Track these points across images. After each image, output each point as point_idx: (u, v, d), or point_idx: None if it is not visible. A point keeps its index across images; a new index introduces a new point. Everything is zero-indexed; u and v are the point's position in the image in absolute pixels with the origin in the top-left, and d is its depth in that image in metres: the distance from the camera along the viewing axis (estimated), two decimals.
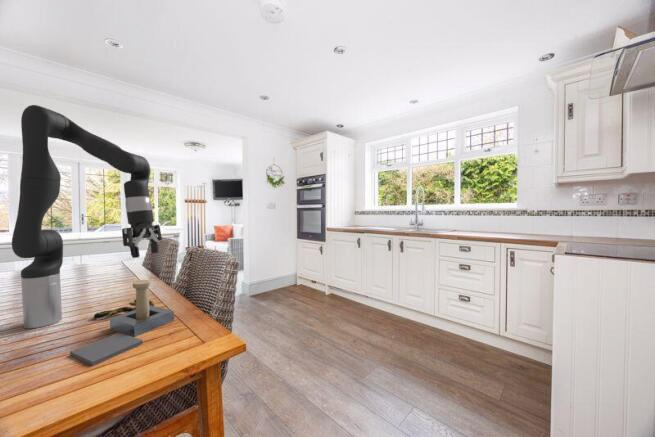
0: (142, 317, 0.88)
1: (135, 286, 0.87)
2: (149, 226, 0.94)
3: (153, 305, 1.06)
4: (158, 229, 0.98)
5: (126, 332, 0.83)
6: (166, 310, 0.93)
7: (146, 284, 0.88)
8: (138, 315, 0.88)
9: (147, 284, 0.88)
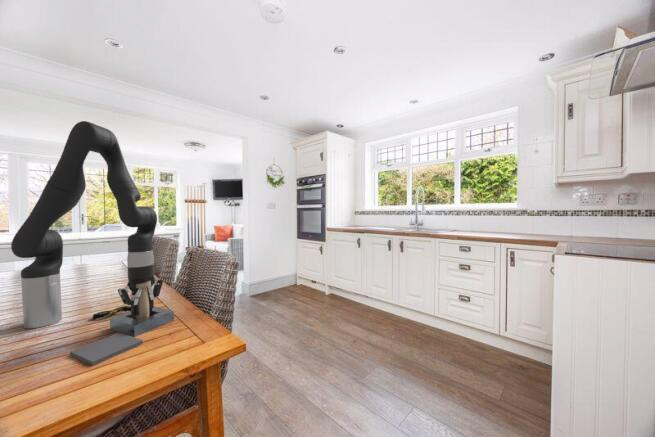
0: (142, 317, 0.88)
1: None
2: (149, 280, 0.91)
3: None
4: (159, 284, 0.94)
5: (126, 332, 0.83)
6: (166, 310, 0.93)
7: (146, 284, 0.88)
8: (138, 315, 0.88)
9: (147, 284, 0.88)
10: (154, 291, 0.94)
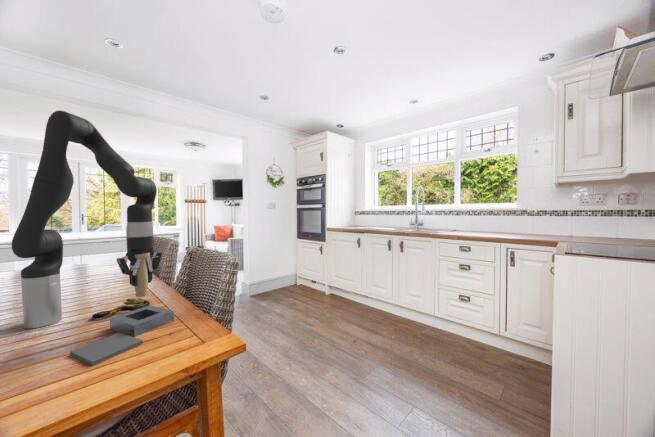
0: (141, 288, 0.88)
1: None
2: (148, 251, 0.91)
3: (149, 303, 1.09)
4: (158, 257, 0.94)
5: (126, 332, 0.83)
6: (166, 310, 0.93)
7: (145, 255, 0.88)
8: (137, 286, 0.88)
9: (146, 255, 0.88)
10: (153, 264, 0.94)
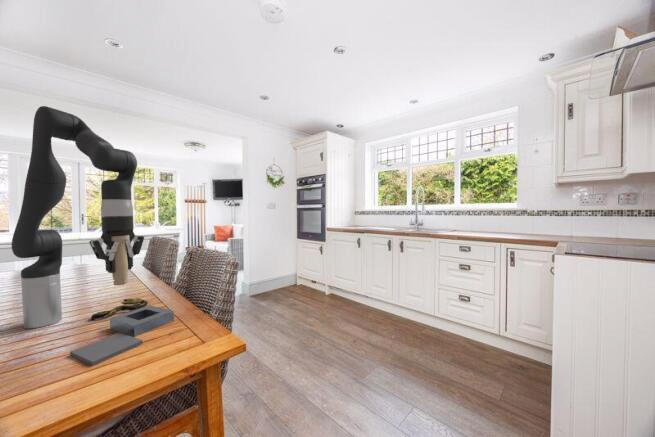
0: (119, 275, 0.77)
1: (111, 239, 0.76)
2: (128, 234, 0.80)
3: (147, 302, 1.09)
4: (140, 241, 0.83)
5: (126, 332, 0.83)
6: (166, 310, 0.93)
7: (124, 237, 0.77)
8: (114, 273, 0.77)
9: (125, 237, 0.77)
10: (134, 249, 0.83)
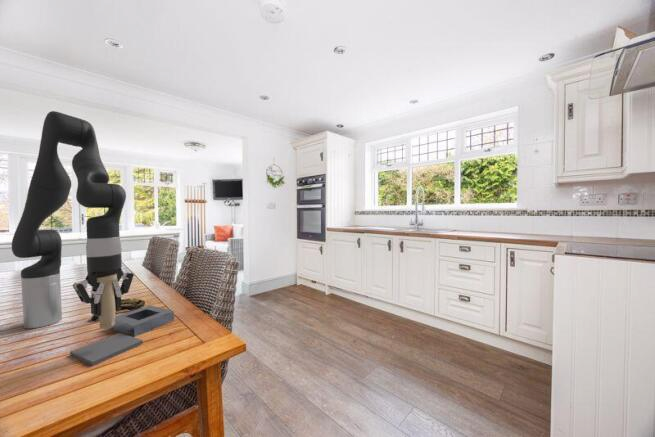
0: (105, 318, 0.72)
1: None
2: (116, 273, 0.75)
3: (144, 301, 1.10)
4: (129, 279, 0.78)
5: (126, 332, 0.83)
6: (166, 310, 0.93)
7: (110, 278, 0.72)
8: (100, 316, 0.72)
9: (111, 278, 0.72)
10: (122, 287, 0.78)
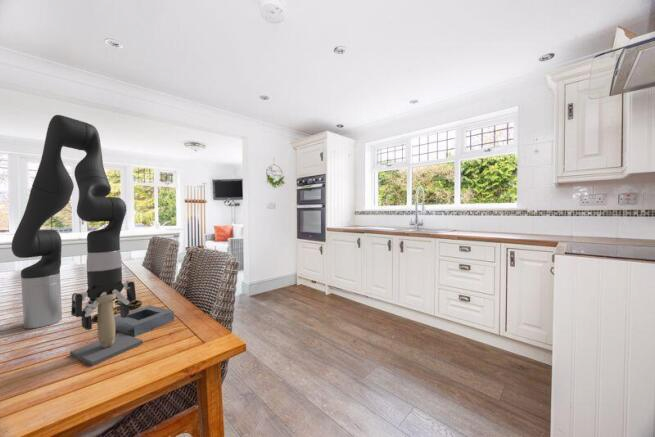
0: (105, 337, 0.72)
1: None
2: (116, 286, 0.75)
3: (140, 301, 1.10)
4: (131, 287, 0.79)
5: (126, 332, 0.83)
6: (166, 310, 0.93)
7: (109, 297, 0.72)
8: (100, 335, 0.72)
9: (111, 297, 0.72)
10: (129, 295, 0.80)
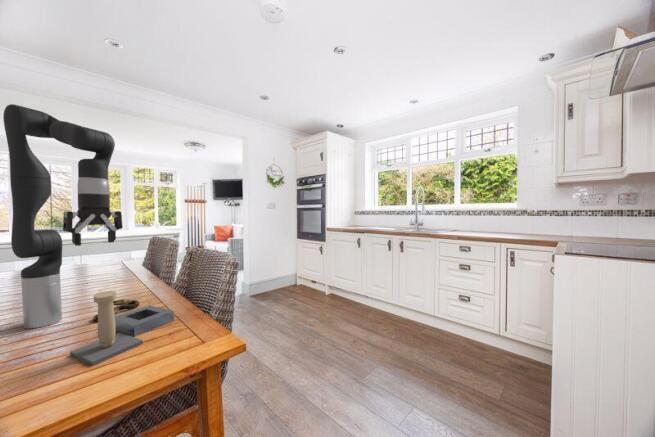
0: (106, 337, 0.72)
1: (96, 300, 0.71)
2: (104, 212, 0.83)
3: None
4: (118, 216, 0.87)
5: (126, 332, 0.83)
6: (166, 310, 0.93)
7: (110, 297, 0.72)
8: (100, 335, 0.72)
9: (111, 297, 0.72)
10: (116, 224, 0.88)
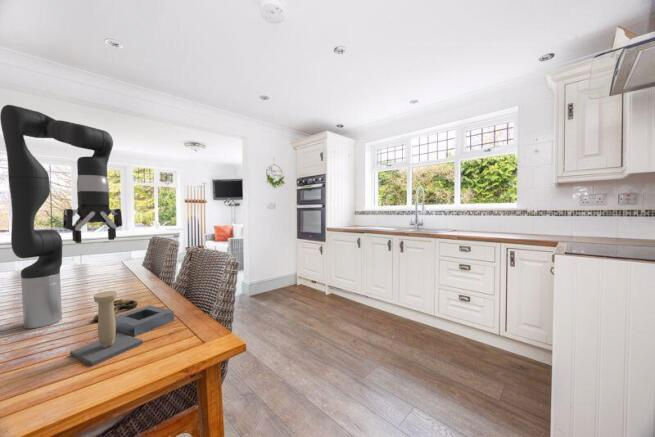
0: (106, 337, 0.72)
1: (96, 300, 0.71)
2: (104, 209, 0.84)
3: None
4: (118, 214, 0.87)
5: (126, 332, 0.83)
6: (166, 310, 0.93)
7: (110, 297, 0.72)
8: (101, 335, 0.72)
9: (112, 297, 0.72)
10: (116, 221, 0.88)
